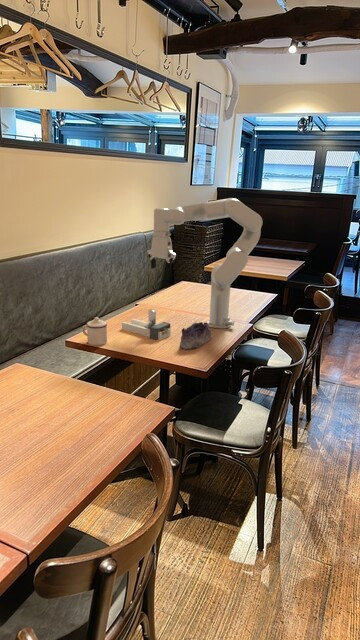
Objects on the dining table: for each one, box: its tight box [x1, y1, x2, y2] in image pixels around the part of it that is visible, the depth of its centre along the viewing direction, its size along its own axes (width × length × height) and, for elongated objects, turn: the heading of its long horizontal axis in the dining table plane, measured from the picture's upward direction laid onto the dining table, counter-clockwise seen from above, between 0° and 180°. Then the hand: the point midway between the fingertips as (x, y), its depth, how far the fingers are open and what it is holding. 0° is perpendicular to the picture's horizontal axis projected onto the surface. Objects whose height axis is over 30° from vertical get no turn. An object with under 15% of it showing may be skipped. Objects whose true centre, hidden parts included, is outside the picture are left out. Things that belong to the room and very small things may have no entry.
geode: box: [179, 321, 213, 351], centre depth 205 cm, size 20×12×10 cm, turn 153°
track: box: [121, 318, 171, 341], centre depth 218 cm, size 24×10×6 cm, turn 54°
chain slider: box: [144, 308, 165, 333], centre depth 214 cm, size 10×5×10 cm, turn 54°
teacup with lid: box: [81, 316, 108, 346], centre depth 203 cm, size 12×9×12 cm
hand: (161, 269), depth 224 cm, fingers open, 9 cm apart
